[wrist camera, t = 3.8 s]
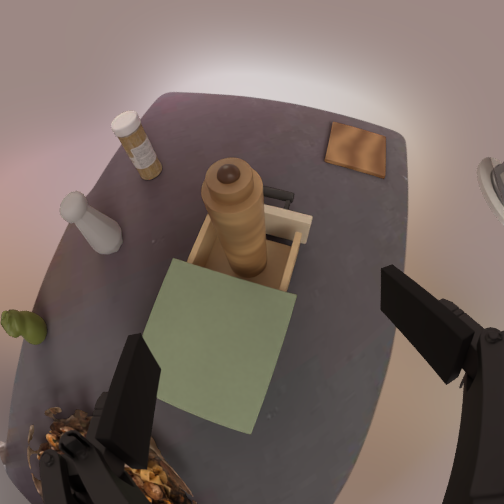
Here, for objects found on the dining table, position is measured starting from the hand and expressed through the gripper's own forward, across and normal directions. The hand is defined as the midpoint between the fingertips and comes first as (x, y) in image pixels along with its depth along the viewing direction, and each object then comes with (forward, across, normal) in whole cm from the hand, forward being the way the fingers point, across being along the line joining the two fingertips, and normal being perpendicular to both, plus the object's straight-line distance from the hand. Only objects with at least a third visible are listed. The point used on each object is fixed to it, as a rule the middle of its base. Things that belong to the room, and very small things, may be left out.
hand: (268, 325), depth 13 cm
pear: (+22, -38, -9) cm, 45 cm away
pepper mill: (+22, 0, -6) cm, 23 cm away
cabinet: (+16, -6, -14) cm, 23 cm away
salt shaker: (+31, -21, 0) cm, 37 cm away
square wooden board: (+35, +25, +4) cm, 43 cm away
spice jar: (+40, -13, +9) cm, 42 cm away
